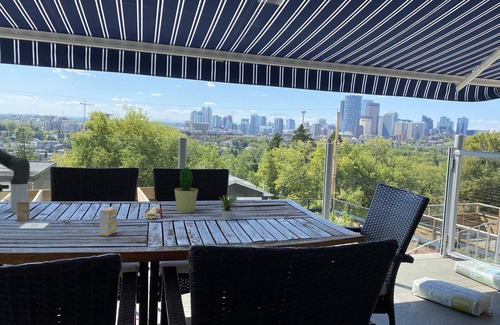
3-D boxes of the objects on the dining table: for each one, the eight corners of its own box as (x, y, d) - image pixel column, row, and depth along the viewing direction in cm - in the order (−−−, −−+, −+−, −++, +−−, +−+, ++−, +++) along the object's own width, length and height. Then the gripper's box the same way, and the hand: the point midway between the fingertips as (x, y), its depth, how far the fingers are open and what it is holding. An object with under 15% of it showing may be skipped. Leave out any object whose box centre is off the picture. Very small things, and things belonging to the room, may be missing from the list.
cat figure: (148, 213, 253) (141, 219, 229) (149, 200, 254) (142, 204, 229) (164, 213, 254) (159, 219, 230) (164, 200, 254) (159, 204, 230)
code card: (25, 223, 209) (25, 223, 209) (49, 223, 212) (49, 222, 212) (18, 228, 199) (18, 228, 199) (43, 228, 201) (43, 227, 201)
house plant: (235, 224, 228) (236, 196, 227) (212, 222, 231) (213, 195, 230) (240, 219, 242) (241, 193, 241) (219, 217, 245) (220, 191, 244)
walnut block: (20, 220, 216) (20, 200, 215) (29, 220, 217) (29, 200, 216) (17, 222, 211) (17, 202, 210) (26, 222, 212) (26, 202, 211)
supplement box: (108, 236, 191) (108, 210, 190) (99, 235, 192) (99, 209, 191) (117, 232, 200) (117, 207, 199) (108, 231, 200) (108, 206, 199)
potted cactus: (198, 213, 253) (200, 168, 250) (174, 213, 249) (175, 167, 246) (196, 208, 267) (197, 165, 265) (173, 209, 264) (174, 165, 261)
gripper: (-35, 183, 201) (-1, 183, 204) (-22, 179, 214) (10, 179, 218) (-35, 197, 201) (0, 197, 205) (-21, 192, 215) (11, 192, 218)
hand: (5, 188), depth 211 cm, fingers open, 8 cm apart
